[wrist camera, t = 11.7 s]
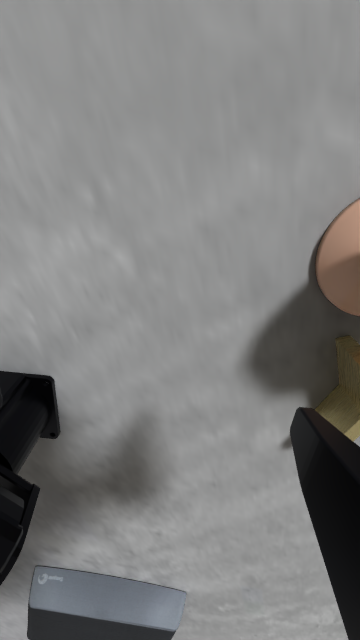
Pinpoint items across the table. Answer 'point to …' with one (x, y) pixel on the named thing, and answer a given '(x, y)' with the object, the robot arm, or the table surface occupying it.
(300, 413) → the robot arm
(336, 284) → the peach round disc
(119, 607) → the external hard drive
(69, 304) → the table surface
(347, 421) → the khaki angled bracket
